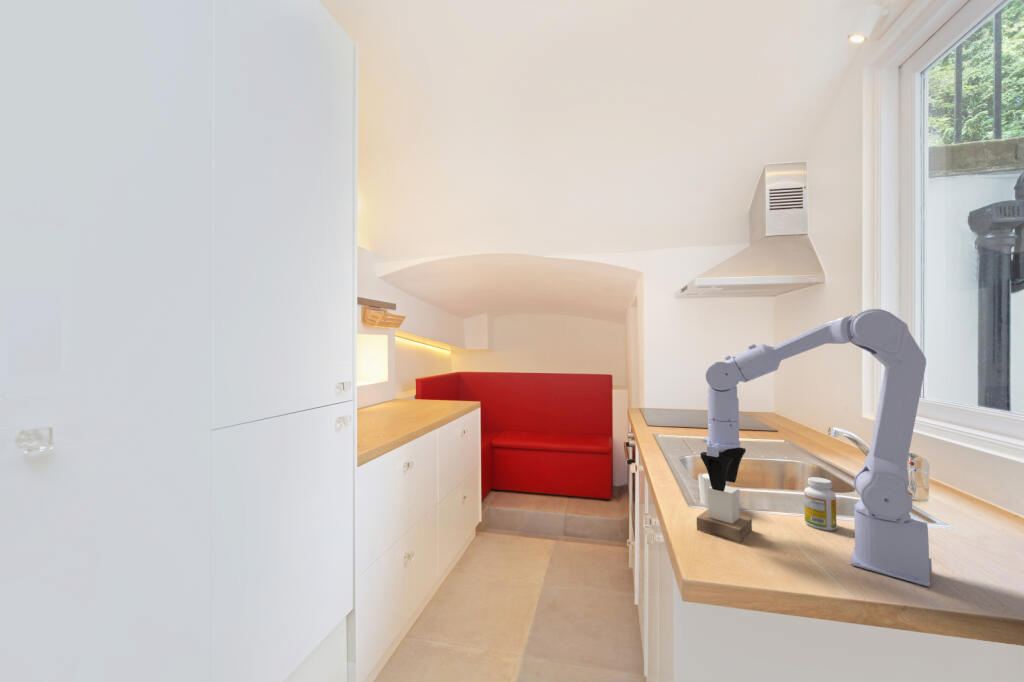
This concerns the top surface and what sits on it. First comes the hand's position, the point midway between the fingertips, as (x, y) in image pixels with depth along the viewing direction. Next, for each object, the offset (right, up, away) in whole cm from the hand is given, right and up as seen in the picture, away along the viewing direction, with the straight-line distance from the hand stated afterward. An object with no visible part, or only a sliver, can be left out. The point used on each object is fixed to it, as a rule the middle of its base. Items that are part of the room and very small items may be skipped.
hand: (724, 485), depth 83 cm
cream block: (0, -7, 0) cm, 7 cm away
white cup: (+5, -10, +13) cm, 17 cm away
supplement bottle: (+22, -10, +2) cm, 24 cm away
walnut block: (0, -10, 0) cm, 10 cm away
